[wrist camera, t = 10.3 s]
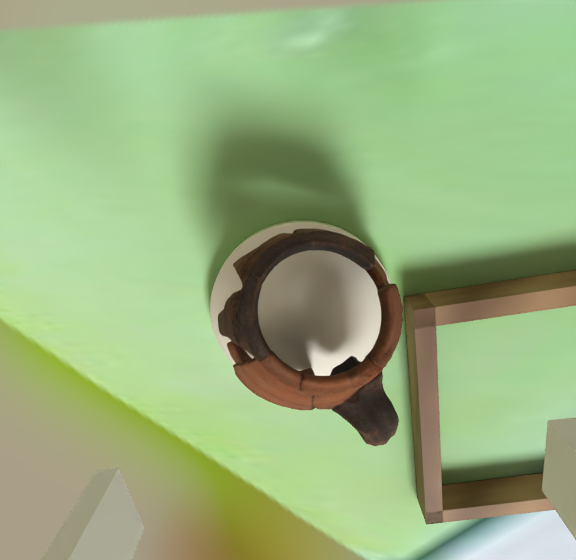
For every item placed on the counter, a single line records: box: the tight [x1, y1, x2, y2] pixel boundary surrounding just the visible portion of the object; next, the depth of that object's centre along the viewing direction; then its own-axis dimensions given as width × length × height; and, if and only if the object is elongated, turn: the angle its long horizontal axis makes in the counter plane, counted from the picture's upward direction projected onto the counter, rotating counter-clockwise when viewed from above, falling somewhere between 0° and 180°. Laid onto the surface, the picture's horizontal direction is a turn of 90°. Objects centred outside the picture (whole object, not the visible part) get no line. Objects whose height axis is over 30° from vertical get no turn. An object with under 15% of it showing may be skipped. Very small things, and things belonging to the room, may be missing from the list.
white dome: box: [210, 220, 391, 376], centre depth 23 cm, size 11×11×1 cm
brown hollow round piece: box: [218, 229, 403, 446], centre depth 20 cm, size 12×10×8 cm
